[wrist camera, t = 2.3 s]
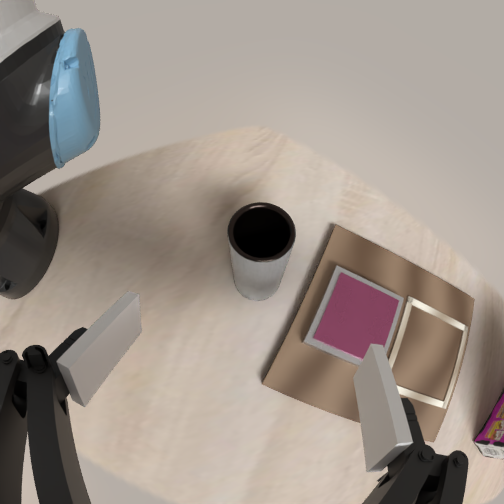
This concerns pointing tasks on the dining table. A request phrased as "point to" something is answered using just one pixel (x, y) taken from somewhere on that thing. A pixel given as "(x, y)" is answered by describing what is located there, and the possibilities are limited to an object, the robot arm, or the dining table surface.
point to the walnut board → (402, 343)
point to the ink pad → (353, 317)
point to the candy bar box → (493, 433)
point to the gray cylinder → (260, 248)
